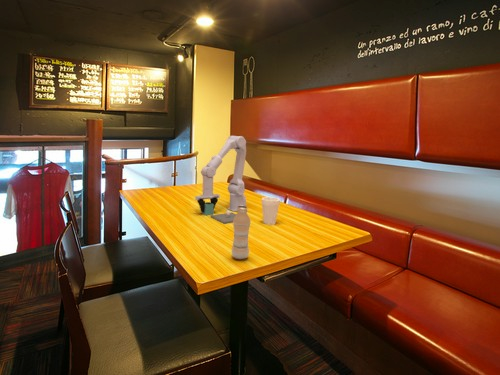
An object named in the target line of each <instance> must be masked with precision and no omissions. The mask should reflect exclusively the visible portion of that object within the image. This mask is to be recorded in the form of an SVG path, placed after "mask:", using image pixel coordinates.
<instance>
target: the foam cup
mask: <svg viewBox="0 0 500 375" xmlns="http://www.w3.org/2000/svg"><path fill="white" fill-rule="evenodd" d="M280 202H281V199H280V198H278V197H271V196H265V197H261V207H262V209H261V210H262V219H263V221H262V222H263V224H265V225H268V226H270V225H271V226H274V225H276V222H277V217H278V212H279V208H280Z"/></svg>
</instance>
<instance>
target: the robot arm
mask: <svg viewBox="0 0 500 375" xmlns="http://www.w3.org/2000/svg"><path fill="white" fill-rule="evenodd" d="M246 145H247V140H246V139H245V137H244V136H242V135H240V136H237V135H229V136H228V138H227V139H226V140H225V143H224V144H223V146H222V148H221V149H220V151H219V152H218V154H217V155H213V156H212V157H211V159H210V160H209V162H208V163H206V165H204V166H203V167H202V169H201V170H200V174H201V176H202V194H200V195H197V196H196V195H195V197H194V200H195V201H197V203H198V206H199V210H200V213H201V212H204V204H205V203H206V201H205V200H210V201H209V202H210V203H212V204H214V210H213V212H214V211H215V208H216V205H217V203H218V201H219V199H220V196H221V195H220V194H218V193H216V194H215V193H214V176H215V175H216V173H217V170H218V168H219V167H220V166H221V165H222V164H223V159H224V158H225V156H226V155H227V154H228V153H229V152H230V151H231V150H234V151H235V152H236V155H235V162H234V170H233V177H232V178H231V179H230V181H229V184H228V186H227V191H228V193H229V207H226V209H227V210H230V211H231V212H237V207H238V206H246V207H247V198H246V195H245V194H244V193H245V191H246V190H245V182H244V181H243V177H244V168H245V162H246V157H247V156H246V155H247V146H246Z"/></svg>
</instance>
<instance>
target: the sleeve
mask: <svg viewBox="0 0 500 375" xmlns="http://www.w3.org/2000/svg"><path fill="white" fill-rule="evenodd" d="M213 210H214V211H215V208H214V204H212V203H211V201H209V202H207V201H205V204H204V212H201V211H200V213H201V214H202V215H204V216H210V215H214V211H213Z"/></svg>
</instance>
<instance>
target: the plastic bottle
mask: <svg viewBox="0 0 500 375" xmlns="http://www.w3.org/2000/svg"><path fill="white" fill-rule="evenodd" d="M236 212H237V213H235V214H236V216H235V217H234V219H233V223H232V225H233V242H232V246H231V256H232V257H233V259H235V260H245V259H247V258H248V257H249V254H250V248H249V232H250V228H251V221H252V220H251V218H250V216H249V215H248V214H247V213H248V206H247V205H246V206H238V207H237V211H236Z"/></svg>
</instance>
